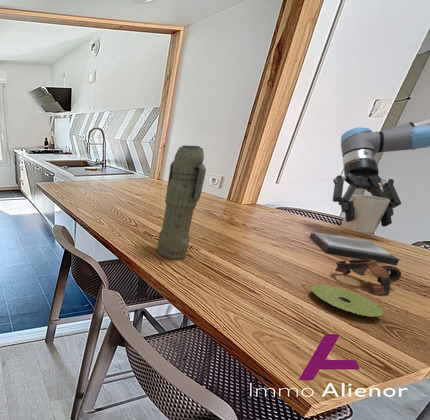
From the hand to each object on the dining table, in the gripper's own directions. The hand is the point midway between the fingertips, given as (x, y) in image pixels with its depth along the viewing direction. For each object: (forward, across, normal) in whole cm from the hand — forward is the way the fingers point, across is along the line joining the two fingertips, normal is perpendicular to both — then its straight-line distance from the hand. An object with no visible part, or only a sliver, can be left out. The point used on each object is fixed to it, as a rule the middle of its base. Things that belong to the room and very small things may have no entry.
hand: (368, 222), depth 79 cm
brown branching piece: (+25, -7, -8) cm, 27 cm away
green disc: (+35, -17, -18) cm, 43 cm away
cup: (0, 0, +5) cm, 5 cm away
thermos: (+29, -55, -12) cm, 64 cm away
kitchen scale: (+6, 0, +11) cm, 12 cm away
